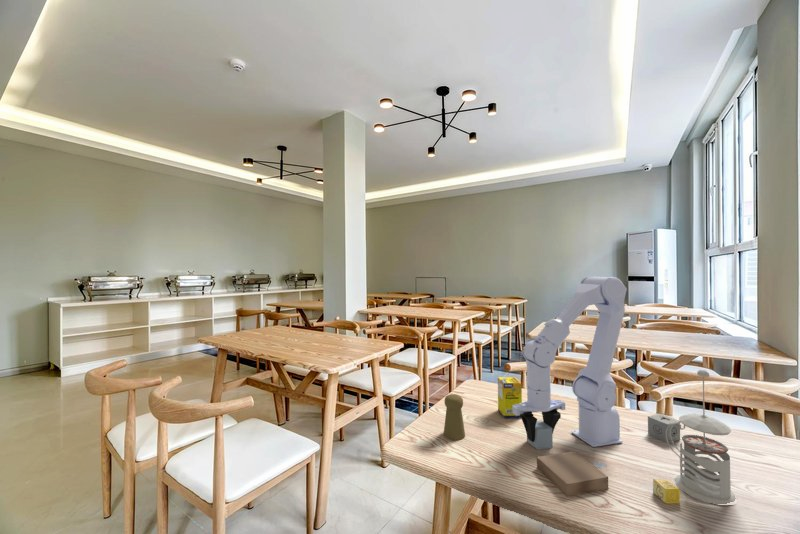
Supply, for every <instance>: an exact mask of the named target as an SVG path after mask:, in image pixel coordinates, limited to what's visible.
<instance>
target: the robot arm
mask: <svg viewBox="0 0 800 534" xmlns="http://www.w3.org/2000/svg"><path fill="white" fill-rule="evenodd" d="M627 291H628V289H627V287H626V285H625V284H624V283H623V282H622V280H621V279H620V278H618V277H616V276H608V277H607V276H593V275H587V276H585V277H583V278H582V279H581V281H580V282H579V283H578V284H577V285H576V287H575V293H574V294H573V295H572V297H571V298H570V299H569V300H568V303H567V304H566V305H565V307H564V308H563V310H561V313H560V314H559V316H558V317H557V318H552V319H549V320H547V321H545V323H544V327H543V328H542V329H541V331H539V333H538V334H537V335H535V337H534V338H533V339H532V340H530V341H528V342H527V343H526V344H525V345H524V347H523V349H522V350H521V352H522V356H523V358H524V359H525V361H526V363H525V364H526V382H527V383H526V388H527V389H526V391H527V395H526V396H527V397H526V399H527V400H526V401H523V402H522V403H520V404H517V405H512V413H514V414H515V415H516V416H518V415H520V417H521V418H520V419H521V421H522V424H523V426H524V430H525V432H526V439H527V438H528V439H529V440H530V441H531V442H534V440H535V426H536V422H537V421H538V418H536V417H535V416H534V413H538V412H540V413H541V416H542V421H543V422H544V423H546V424H547V425H549V426H550V427H551V428H552V436H554V431H555V428H556V425H557V424H558V421H559V420H560V419H561V418H562V417H561V412H559V411H558V410H561V411H565V410H566V402H565V401H563V400H561V399H558V400H557V399H552V398H551V396H552V394H551V392H552V391H551V390H552V389H551V365H552V364H553V363H554V362H555V360H556V356H557V355H556V353H557V352H558V348H559V347H561V345H562V343H564V341H565V340H566V339H567V337H568V336H569V335H570V333H571V331H570V326H571V325H572V324H573V323H574V322H575V321H576V320H577V319H578V318H579V317H580V316H581V314H582V313H583V312H584V311H585V310H586V309H587V308H588V307H589V306H592V305H594V306H595V307H596V308H597V310H598V312H599V314H598V319H597V323H596V326H595V331H594V335H593V340H592V344H591V348H590V351H589V356H588V359H587V364H586V366H585V367H583V368H581V369H580V370H579V371H578V373H577V374H578V375H576V378H575V379H574V380H573V382H572V384H571V386H572V387H571V389H572V393H573V394H574V396H576V401H577V402H578V404H577V405H578V429H574V430H571V434H573V435H574V436H576V437H577V438H579V439H580V440H582V441H583V442H584V443H586V444H588V445H589V446H591V447H592V448H593V447H594V448H597V447H602V446H609V445H614V444H615V445H616V444H622V443H623V442H624V441H623V440H622V439H621V433H620V432H621V430H620V428H621V426H620V425H621V424H620V415H619V412H618V410H617V408H616V407H614V406H615V404H616V403H617V402H616V401H617V395H616V387H617V384H616V381H614V379H613V377H612V375H611V369H612V365H613V361H614V358H615V354H616V353H615V352H616V349H617V345H618V344H617V343H618V340H619V337H620V336H619V335H620V332H621V328H622V323H623V319H624V315H625V311H626V309H625V297H626V294H627Z"/></svg>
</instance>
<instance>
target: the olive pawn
mask: <svg viewBox="0 0 800 534" xmlns="http://www.w3.org/2000/svg"><path fill="white" fill-rule="evenodd" d="M444 406H445V408H446V410H445V419H444V420H445V421H444V428H443V437H444V436H445V437H444V438H445V439H447V440H450V441H463V440H464V439H465V438H466V431H465V424H464V423H465V422H464V417H463V409H462V408H463V407H464V399H463V398H462V396H461V395H459V394H456V393H450V394H447V395H445V398H444Z"/></svg>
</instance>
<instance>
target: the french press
mask: <svg viewBox="0 0 800 534" xmlns="http://www.w3.org/2000/svg"><path fill="white" fill-rule="evenodd" d="M696 372H697V376H699V377H702V408H703V409H702V412H703V413H702V414H699V413H691V414H690V413H689V414H684V415H681V416H679V417H678V419H679V420H678V422H675V423H672V424H670V425H669V426H668V427H667V428H666V440H667V443H666V444H667V445H668V447H669V448H670V450H671V451H672V452H673V453H674V454H675V455H676V456H678V458H679V469H680V470H679V475H677V476H676V477H675V478H674V479H673V480H674V482H675V486H676V487H678V488H679V489H680V491H682V492H684V493H685V494H687V495H689V496H690V497H692V498H695V499H697V500H699V501H702V502H704V503H707V504H710V503H713V504H712V505H714V504H727V503H730V502H734V501H735V499H736V498H735V495H736V494H735V493H734V492H733V491H732V490H731V457H730V455H729V453H728V451H729V448H728V446H726V445H725V444H723V443H722V442H719V441H718V440H715V439H712V438H710V437H707V436H706V434H709V435H713V436H727V435H729V434H730V433H731V432H732V429H731V428H730V427H729V426H728V425H727V424H725V423H724V422H722V421H720V420H719V419H717V418H715V417H711V416H709V415H705V409H706V407H705V378H709V377H710V373H709V372H708V371H707V370H705V369H699V370H698V371H696ZM674 424H679V426H680V431H683V430H684V429H685V428H686V427H687V428H689V429H691V430H694V431H697V432H700V433H703V436H702V435H698V434H685V435H683V436H681V440H682V442H681V443H680V445H679V448H678V447H677V445H676V444H675V441H674V442H673V440H672V436H671V430H672V427H673V426H674ZM671 425H672V426H671ZM682 425H683V427H682ZM670 426H671V428H670V437H671V440H672V442H671V443H672V445H673V446H674V447H675V449H676V450H677V451H678V452H679V453H680V454H678V453H677V452H676V451H675V450H674V449H673V448H672V446H671V444H670V443H669V442H668V439H667V430H668V428H669V427H670ZM698 455H708V456H709V457H708V456H707V457H705V456H698ZM710 457H711V458H710ZM712 458H714V459H715V460H714V459H712ZM720 458H721V459H722V460H721V459H720ZM699 466H700V467H702V468H700V467H699ZM683 468H684V469H683ZM733 493H734V494H735V495H734V494H733Z"/></svg>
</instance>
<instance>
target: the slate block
mask: <svg viewBox="0 0 800 534" xmlns="http://www.w3.org/2000/svg"><path fill="white" fill-rule="evenodd" d="M526 442H528V443H529V444H530V445H531V446H532V447H533V448H535V449H536V450H544V449H545V450H546V449H552V448H554V447H553V444H554V443H553V435H552V428H551V427H550V426H549V425H547V424H546V423H544V422H543V419H541V420H537V422H536V426H535V440H534V442H531V441H530V440H529V439H528V438H527V437H526Z"/></svg>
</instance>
